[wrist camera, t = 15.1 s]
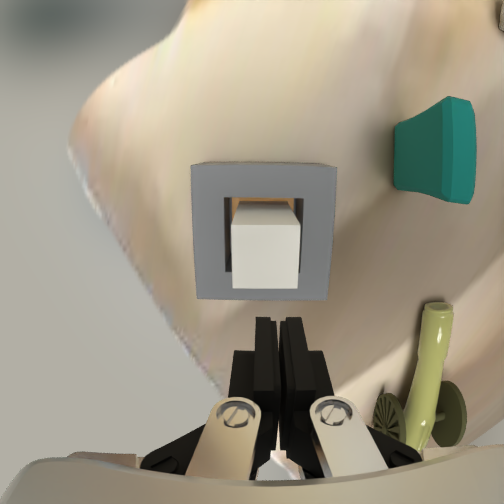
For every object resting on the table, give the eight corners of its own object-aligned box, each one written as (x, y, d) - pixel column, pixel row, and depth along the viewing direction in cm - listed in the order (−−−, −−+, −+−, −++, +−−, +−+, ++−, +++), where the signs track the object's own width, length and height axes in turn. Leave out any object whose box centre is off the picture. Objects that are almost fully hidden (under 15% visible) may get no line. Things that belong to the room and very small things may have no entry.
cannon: (394, 301, 36) (434, 353, 25) (466, 292, 35) (513, 333, 25) (365, 430, 44) (381, 482, 33) (425, 417, 43) (448, 463, 33)
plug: (286, 201, 30) (300, 225, 21) (285, 246, 32) (297, 288, 22) (239, 200, 30) (231, 224, 21) (239, 246, 32) (232, 288, 22)
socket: (321, 163, 31) (337, 167, 25) (315, 273, 35) (326, 300, 28) (203, 162, 31) (190, 165, 25) (207, 272, 35) (196, 298, 29)
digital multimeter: (390, 189, 31) (414, 191, 31) (444, 202, 17) (479, 206, 17) (391, 123, 29) (416, 126, 29) (443, 91, 15) (479, 100, 15)
